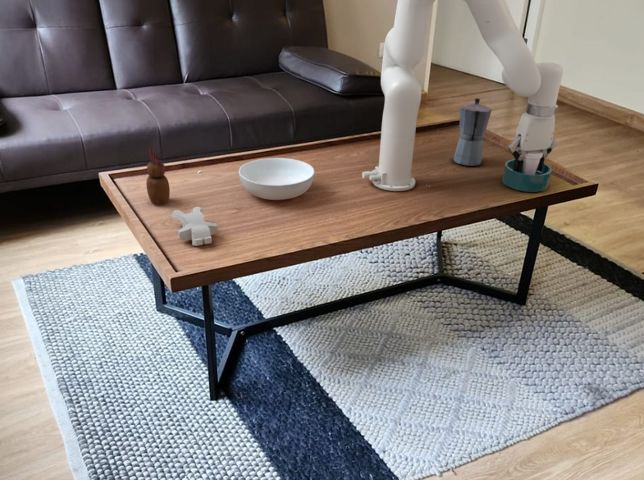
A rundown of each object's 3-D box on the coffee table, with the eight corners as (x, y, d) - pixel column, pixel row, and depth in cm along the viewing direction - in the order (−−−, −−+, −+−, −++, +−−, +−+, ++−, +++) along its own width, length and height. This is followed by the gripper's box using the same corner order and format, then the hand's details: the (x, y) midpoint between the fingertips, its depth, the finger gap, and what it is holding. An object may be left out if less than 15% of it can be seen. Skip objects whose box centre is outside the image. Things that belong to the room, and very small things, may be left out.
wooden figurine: (146, 198, 175) (140, 145, 167) (168, 195, 177) (162, 142, 169) (150, 208, 170) (143, 153, 162) (172, 205, 171) (167, 151, 163)
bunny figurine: (183, 236, 148) (166, 204, 158) (184, 254, 151) (168, 222, 161) (222, 229, 151) (204, 198, 162) (223, 247, 155) (204, 216, 165)
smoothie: (538, 181, 192) (549, 136, 184) (532, 188, 187) (542, 142, 180) (517, 176, 195) (527, 131, 187) (510, 183, 190) (520, 137, 182)
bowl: (517, 195, 184) (521, 177, 181) (493, 178, 195) (496, 160, 192) (556, 190, 188) (561, 173, 185) (531, 174, 198) (534, 157, 195)
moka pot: (480, 155, 211) (490, 93, 201) (485, 172, 198) (497, 108, 188) (451, 153, 212) (459, 92, 201) (454, 170, 199) (464, 106, 188)
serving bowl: (322, 184, 187) (323, 161, 183) (301, 213, 169) (301, 189, 166) (255, 175, 191) (254, 153, 187) (227, 203, 174) (226, 179, 170)
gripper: (558, 104, 185) (545, 163, 194) (505, 107, 180) (494, 168, 190) (574, 111, 179) (560, 172, 188) (520, 115, 174) (508, 178, 183)
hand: (527, 170), depth 189 cm, fingers closed on smoothie, 6 cm apart
